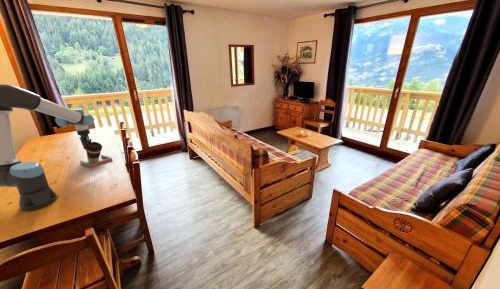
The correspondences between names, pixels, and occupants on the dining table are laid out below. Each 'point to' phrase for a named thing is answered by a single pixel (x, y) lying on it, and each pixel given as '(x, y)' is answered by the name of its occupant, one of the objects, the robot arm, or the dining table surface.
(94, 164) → the keeper tray
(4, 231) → the dining table surface
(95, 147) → the coffee cup
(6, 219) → the dining table surface
